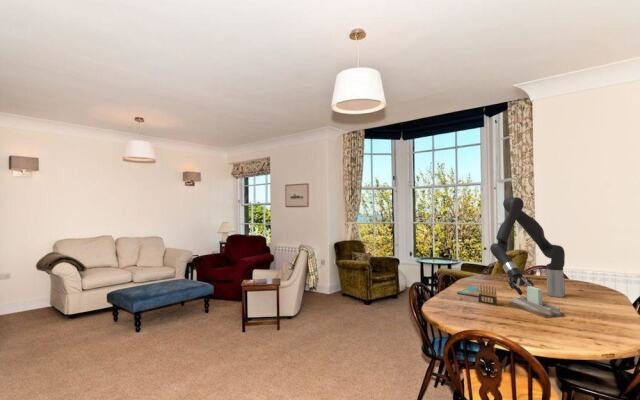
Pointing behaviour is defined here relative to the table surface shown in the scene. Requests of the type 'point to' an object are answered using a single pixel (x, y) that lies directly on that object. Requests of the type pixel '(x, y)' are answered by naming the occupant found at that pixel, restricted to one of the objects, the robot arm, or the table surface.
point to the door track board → (536, 308)
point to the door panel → (534, 295)
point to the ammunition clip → (487, 294)
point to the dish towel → (470, 292)
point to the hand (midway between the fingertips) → (527, 293)
